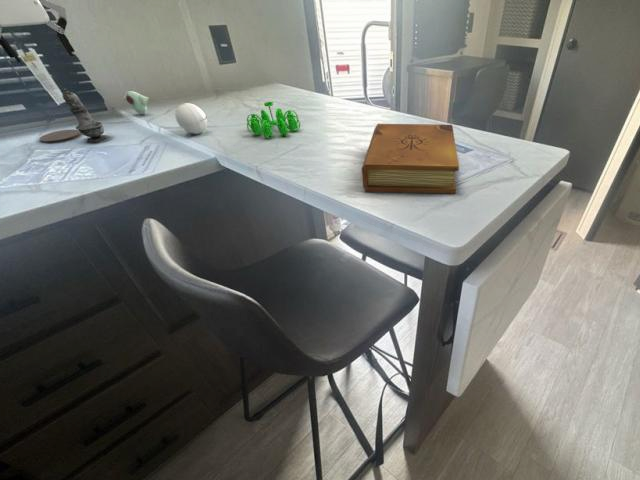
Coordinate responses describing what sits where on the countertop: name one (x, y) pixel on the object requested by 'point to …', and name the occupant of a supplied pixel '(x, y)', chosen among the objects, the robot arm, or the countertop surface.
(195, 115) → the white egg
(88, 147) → the countertop surface
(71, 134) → the coaster
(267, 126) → the chandelier
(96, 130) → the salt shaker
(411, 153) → the diary
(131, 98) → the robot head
